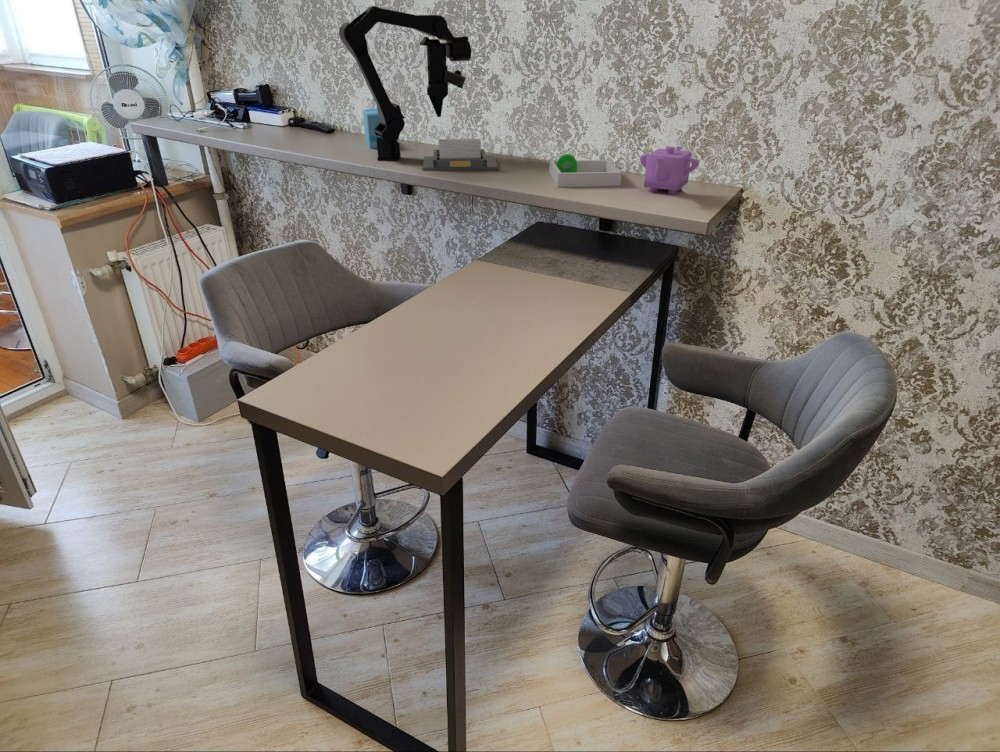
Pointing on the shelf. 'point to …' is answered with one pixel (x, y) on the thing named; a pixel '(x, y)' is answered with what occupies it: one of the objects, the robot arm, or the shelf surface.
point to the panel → (459, 149)
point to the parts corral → (586, 174)
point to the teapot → (667, 169)
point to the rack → (459, 163)
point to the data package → (371, 126)
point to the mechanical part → (563, 159)
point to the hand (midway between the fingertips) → (439, 116)
